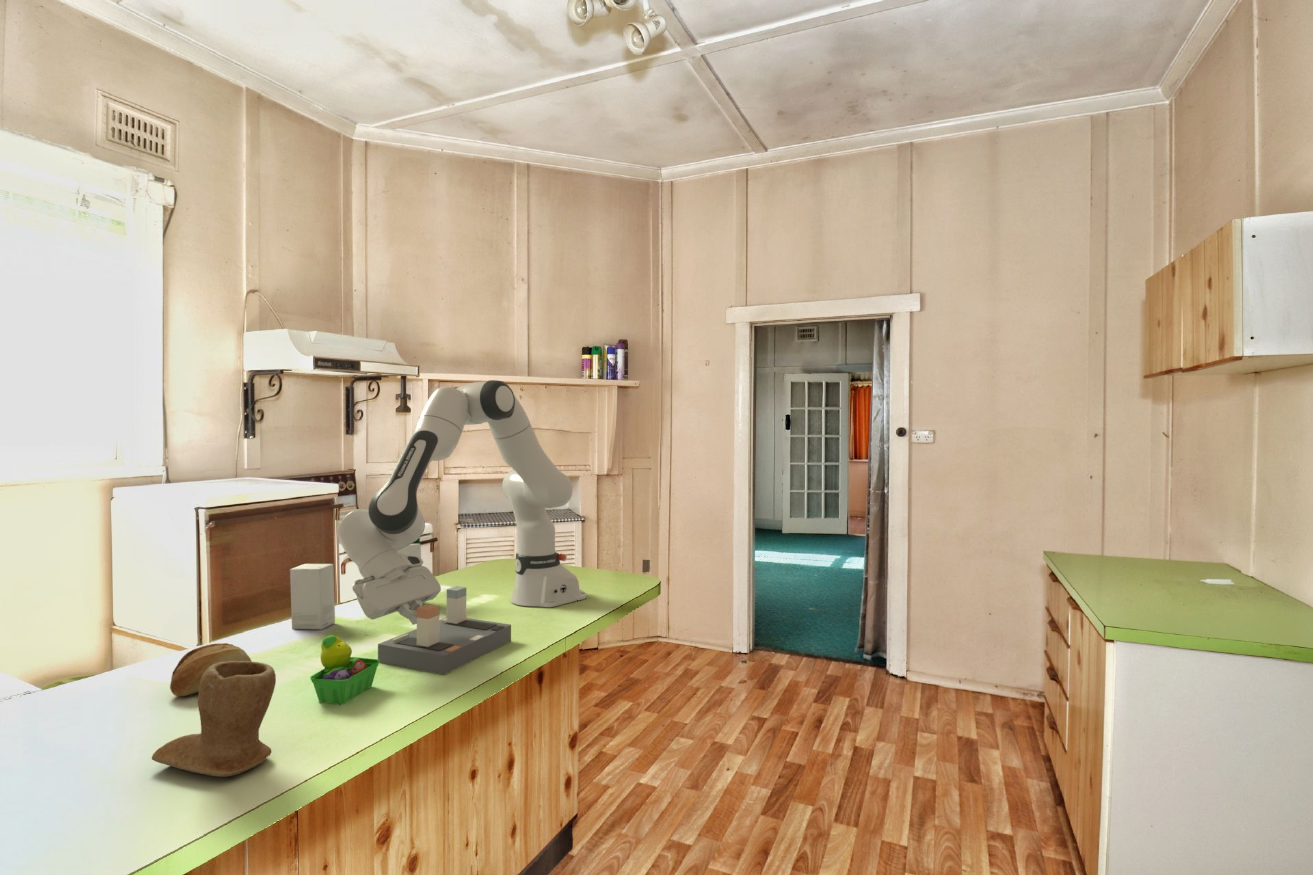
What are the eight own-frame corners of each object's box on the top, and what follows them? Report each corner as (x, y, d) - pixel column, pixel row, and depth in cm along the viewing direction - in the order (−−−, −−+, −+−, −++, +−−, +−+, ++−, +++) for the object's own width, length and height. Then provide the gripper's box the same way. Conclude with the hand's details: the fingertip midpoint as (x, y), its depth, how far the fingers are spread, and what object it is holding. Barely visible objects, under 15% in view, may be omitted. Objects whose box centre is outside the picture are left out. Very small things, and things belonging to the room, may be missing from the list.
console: (450, 631, 169) (450, 612, 169) (511, 640, 162) (511, 621, 162) (377, 662, 147) (377, 640, 147) (444, 674, 140) (444, 651, 140)
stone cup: (293, 752, 107) (293, 658, 106) (222, 791, 95) (222, 686, 95) (223, 736, 112) (223, 647, 111) (148, 771, 100) (148, 671, 100)
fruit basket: (344, 708, 123) (344, 647, 123) (302, 703, 125) (302, 643, 125) (381, 684, 135) (381, 628, 134) (342, 680, 136) (342, 625, 136)
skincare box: (335, 623, 175) (336, 563, 174) (320, 630, 168) (320, 568, 168) (305, 621, 176) (305, 562, 175) (289, 629, 169) (289, 567, 169)
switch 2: (456, 618, 166) (456, 586, 166) (466, 619, 165) (466, 587, 164) (446, 622, 162) (446, 589, 162) (456, 623, 161) (456, 590, 161)
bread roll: (155, 696, 128) (155, 654, 128) (232, 670, 141) (232, 632, 141) (187, 705, 124) (187, 662, 124) (263, 677, 138) (263, 639, 137)
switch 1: (428, 640, 149) (428, 604, 149) (439, 641, 148) (439, 605, 148) (416, 644, 146) (416, 608, 145) (427, 646, 144) (427, 609, 144)
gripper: (356, 572, 140) (392, 625, 137) (425, 555, 159) (458, 601, 156) (340, 591, 142) (376, 644, 139) (410, 572, 161) (443, 618, 158)
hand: (420, 621), depth 147 cm, fingers closed, pressing on switch 1
